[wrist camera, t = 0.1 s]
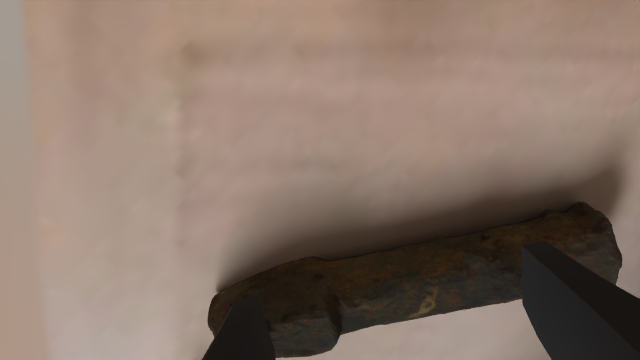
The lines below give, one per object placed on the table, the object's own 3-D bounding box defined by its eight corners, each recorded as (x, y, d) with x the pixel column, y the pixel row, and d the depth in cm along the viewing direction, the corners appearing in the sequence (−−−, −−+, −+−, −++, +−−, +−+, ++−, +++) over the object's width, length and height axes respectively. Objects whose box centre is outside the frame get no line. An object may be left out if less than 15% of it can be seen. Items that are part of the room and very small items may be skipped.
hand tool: (585, 186, 24) (644, 241, 20) (578, 253, 26) (631, 315, 22) (200, 248, 25) (182, 312, 21) (220, 309, 27) (207, 379, 23)
